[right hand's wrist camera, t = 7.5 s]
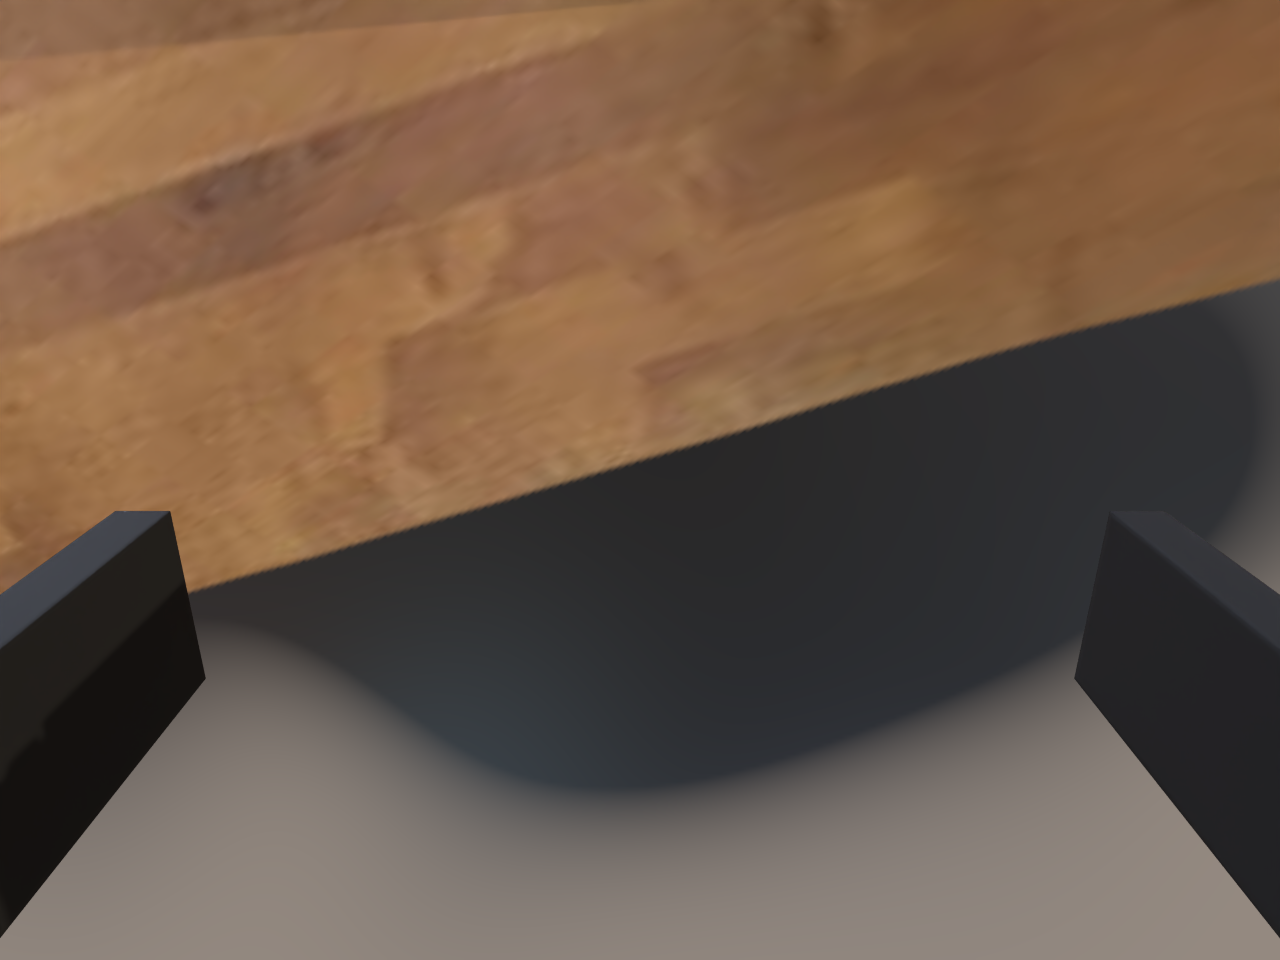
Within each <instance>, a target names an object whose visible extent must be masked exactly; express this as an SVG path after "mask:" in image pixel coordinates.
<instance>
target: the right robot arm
mask: <svg viewBox="0 0 1280 960" xmlns="http://www.w3.org/2000/svg"><path fill="white" fill-rule="evenodd" d="M204 680H205V673H204V668H203V664H202V659H201V654H200V650H199V645H198V640H197V635H196V631H195V626H194V621H193V616H192V612H191V607H190V602H189V598H188V593H187V588H186V583H185V579H184V574H183V569H182V565H181V560H180V555H179V550H178V546H177V541H176V536H175V531H174V527H173V522H172V517H171V513H170V511H115V512H113V513H112V514H111V515H109V516H108V517H107V518H105V519H104V520H102V521H101V522H100V523H98V524H97V525H96V526H94V527H93V528H91V529H90V530H89V531H87V532H86V533H85V534H83V535H82V536H80V537H79V538H78V539H76V540H75V541H74V542H72V543H71V544H69V545H68V546H67V547H65V548H64V549H63V550H61V551H60V552H58V553H57V554H56V555H54V556H53V557H52V558H50V559H49V560H47V561H46V562H45V563H43V564H42V565H41V566H39V567H38V568H36V569H35V570H34V571H32V572H31V573H30V574H28V575H27V576H25V577H24V578H23V579H21V580H20V581H19V582H17V583H16V584H14V585H13V586H12V587H10V588H9V589H7V590H6V591H5V592H3V593H2V594H1V595H0V938H1V936H2V935H3V934H4V933H5V931H6V930H7V929H8V927H9V926H10V925H11V924H12V922H13V921H14V920H15V919H16V917H17V916H18V915H19V914H20V912H21V911H22V910H23V909H24V907H25V906H26V905H27V904H28V902H29V901H30V900H31V898H32V897H33V896H34V895H35V893H36V892H37V891H38V890H39V888H40V887H41V886H42V885H43V883H44V882H45V881H46V880H47V878H48V877H49V876H50V874H51V873H52V872H53V871H54V869H55V868H56V867H57V866H58V864H59V863H60V862H61V861H62V859H63V858H64V857H65V856H66V854H67V853H68V852H69V850H70V849H71V848H72V847H73V845H74V844H75V843H76V842H77V840H78V839H79V838H80V837H81V835H82V834H83V833H84V831H85V830H86V829H87V828H88V826H89V825H90V824H91V823H92V821H93V820H94V819H95V818H96V816H97V815H98V814H99V813H100V811H101V810H102V809H103V808H104V806H105V805H106V804H107V802H108V801H109V800H110V799H111V797H112V796H113V795H114V794H115V792H116V791H117V790H118V789H119V787H120V786H121V785H122V784H123V782H124V781H125V780H126V778H127V777H128V776H129V775H130V773H131V772H132V771H133V770H134V768H135V767H136V766H137V765H138V763H139V762H140V761H141V760H142V758H143V757H144V756H145V754H146V753H147V752H148V751H149V749H150V748H151V747H152V746H153V744H154V743H155V742H156V741H157V739H158V738H159V737H160V736H161V734H162V733H163V732H164V730H165V729H166V728H167V727H168V725H169V724H170V723H171V722H172V720H173V719H174V718H175V717H176V715H177V714H178V713H179V712H180V710H181V709H182V708H183V707H184V705H185V704H186V703H187V701H188V700H189V699H190V698H191V696H192V695H193V694H194V693H195V691H196V690H197V689H198V688H199V686H200V685H201V684H202V683H203V681H204ZM1075 680H1076V681H1077V682H1078V684H1079V685H1080V686H1081V688H1082V689H1083V690H1084V691H1085V693H1086V694H1087V695H1088V696H1089V698H1090V699H1091V700H1092V701H1093V703H1094V704H1095V705H1096V706H1097V708H1098V709H1099V710H1100V712H1101V713H1102V714H1103V715H1104V717H1105V718H1106V719H1107V720H1108V722H1109V723H1110V724H1111V725H1112V727H1113V728H1114V729H1115V731H1116V732H1117V733H1118V734H1119V736H1120V737H1121V738H1122V739H1123V741H1124V742H1125V743H1126V744H1127V746H1128V747H1129V748H1130V749H1131V751H1132V752H1133V753H1134V754H1135V756H1136V757H1137V758H1138V759H1139V761H1140V762H1141V763H1142V765H1143V766H1144V767H1145V768H1146V770H1147V771H1148V772H1149V773H1150V775H1151V776H1152V777H1153V778H1154V780H1155V781H1156V782H1157V784H1158V785H1159V786H1160V787H1161V789H1162V790H1163V791H1164V792H1165V794H1166V795H1167V796H1168V797H1169V799H1170V800H1171V801H1172V802H1173V804H1174V805H1175V806H1176V807H1177V809H1178V810H1179V811H1180V812H1181V814H1182V815H1183V816H1184V818H1185V819H1186V820H1187V821H1188V823H1189V824H1190V825H1191V826H1192V828H1193V829H1194V830H1195V831H1196V833H1197V834H1198V835H1199V837H1200V838H1201V839H1202V840H1203V842H1204V843H1205V844H1206V845H1207V847H1208V848H1209V849H1210V850H1211V852H1212V853H1213V854H1214V856H1215V857H1216V858H1217V859H1218V861H1219V862H1220V863H1221V864H1222V866H1223V867H1224V868H1225V869H1226V871H1227V872H1228V873H1229V874H1230V876H1231V877H1232V878H1233V879H1234V881H1235V882H1236V883H1237V885H1238V886H1239V887H1240V888H1241V890H1242V891H1243V892H1244V893H1245V895H1246V896H1247V897H1248V898H1249V900H1250V901H1251V902H1252V904H1253V905H1254V906H1255V907H1256V909H1257V910H1258V911H1259V912H1260V914H1261V915H1262V916H1263V917H1264V919H1265V920H1266V921H1267V922H1268V924H1269V925H1270V926H1271V928H1272V929H1273V930H1274V931H1275V933H1276V934H1277V935H1278V936H1279V938H1280V595H1279V594H1278V593H1277V592H1275V591H1274V590H1272V589H1271V588H1270V587H1268V586H1267V585H1266V584H1264V583H1263V582H1261V581H1260V580H1259V579H1257V578H1256V577H1255V576H1253V575H1252V574H1250V573H1249V572H1248V571H1246V570H1245V569H1244V568H1242V567H1241V566H1239V565H1238V564H1237V563H1235V562H1234V561H1232V560H1231V559H1230V558H1228V557H1227V556H1226V555H1224V554H1223V553H1221V552H1220V551H1219V550H1217V549H1216V548H1215V547H1213V546H1212V545H1211V544H1209V543H1208V542H1206V541H1205V540H1204V539H1202V538H1201V537H1199V536H1198V535H1197V534H1195V533H1194V532H1193V531H1191V530H1190V529H1188V528H1187V527H1186V526H1184V525H1183V524H1181V523H1180V522H1179V521H1177V520H1176V519H1175V518H1173V517H1172V516H1171V515H1169V514H1168V513H1167V512H1165V511H1110V513H1109V517H1108V522H1107V527H1106V531H1105V536H1104V541H1103V546H1102V550H1101V555H1100V560H1099V565H1098V570H1097V574H1096V579H1095V584H1094V588H1093V593H1092V598H1091V602H1090V607H1089V612H1088V616H1087V621H1086V626H1085V631H1084V635H1083V640H1082V645H1081V650H1080V654H1079V659H1078V664H1077V668H1076V673H1075Z"/></svg>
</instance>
